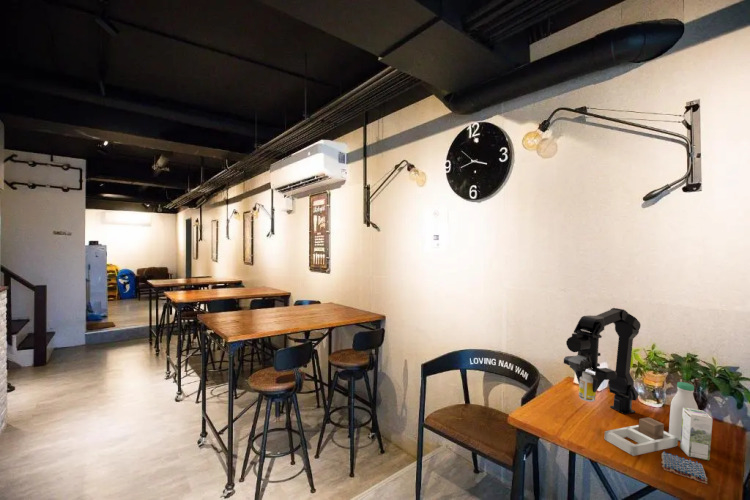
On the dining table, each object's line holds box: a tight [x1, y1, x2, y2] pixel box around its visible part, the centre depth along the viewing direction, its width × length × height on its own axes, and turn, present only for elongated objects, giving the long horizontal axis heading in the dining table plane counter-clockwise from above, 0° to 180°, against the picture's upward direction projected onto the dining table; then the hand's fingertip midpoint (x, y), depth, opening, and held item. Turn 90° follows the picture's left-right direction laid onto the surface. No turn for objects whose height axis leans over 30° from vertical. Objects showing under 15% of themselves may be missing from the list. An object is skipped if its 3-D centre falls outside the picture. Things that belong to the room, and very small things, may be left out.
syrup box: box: [679, 408, 713, 461], centre depth 117 cm, size 6×6×14 cm
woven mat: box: [660, 450, 708, 485], centre depth 109 cm, size 10×11×2 cm
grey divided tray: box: [603, 424, 679, 457], centre depth 123 cm, size 22×10×3 cm, turn 109°
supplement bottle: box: [578, 371, 597, 403], centre depth 136 cm, size 6×6×10 cm
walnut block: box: [638, 417, 665, 440], centre depth 124 cm, size 5×5×7 cm
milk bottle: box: [668, 381, 699, 442], centre depth 127 cm, size 8×8×20 cm
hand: (587, 388), depth 136 cm, fingers closed on supplement bottle, 5 cm apart
